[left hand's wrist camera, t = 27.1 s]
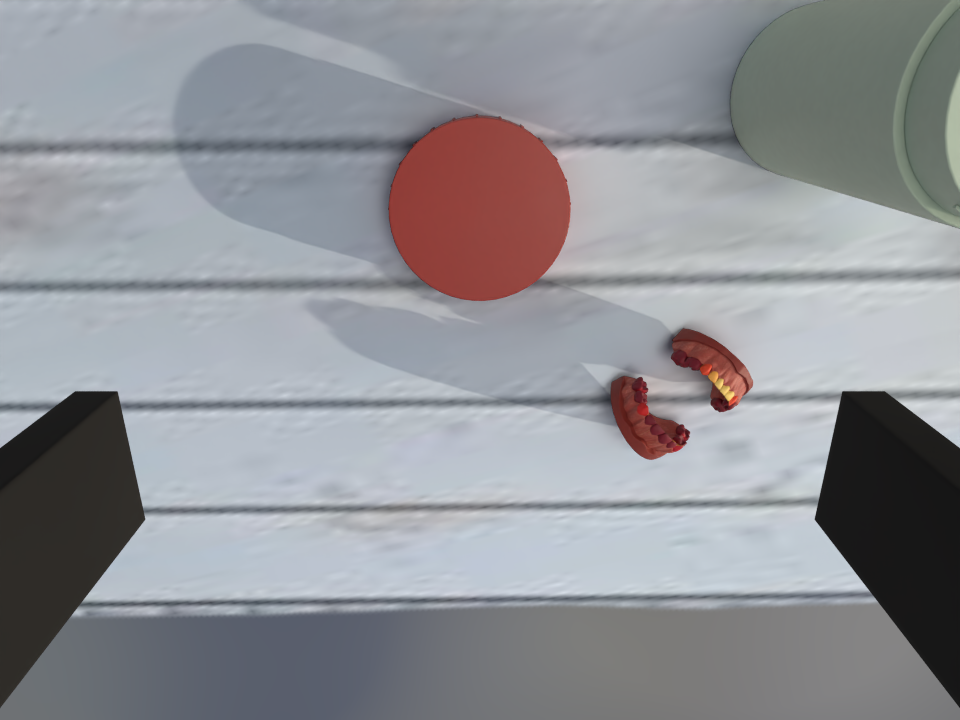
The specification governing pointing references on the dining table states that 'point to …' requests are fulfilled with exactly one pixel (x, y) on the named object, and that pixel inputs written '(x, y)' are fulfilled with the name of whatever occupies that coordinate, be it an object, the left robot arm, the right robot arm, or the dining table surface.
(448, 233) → the lid
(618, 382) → the dental model
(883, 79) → the jar
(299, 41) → the dining table surface
